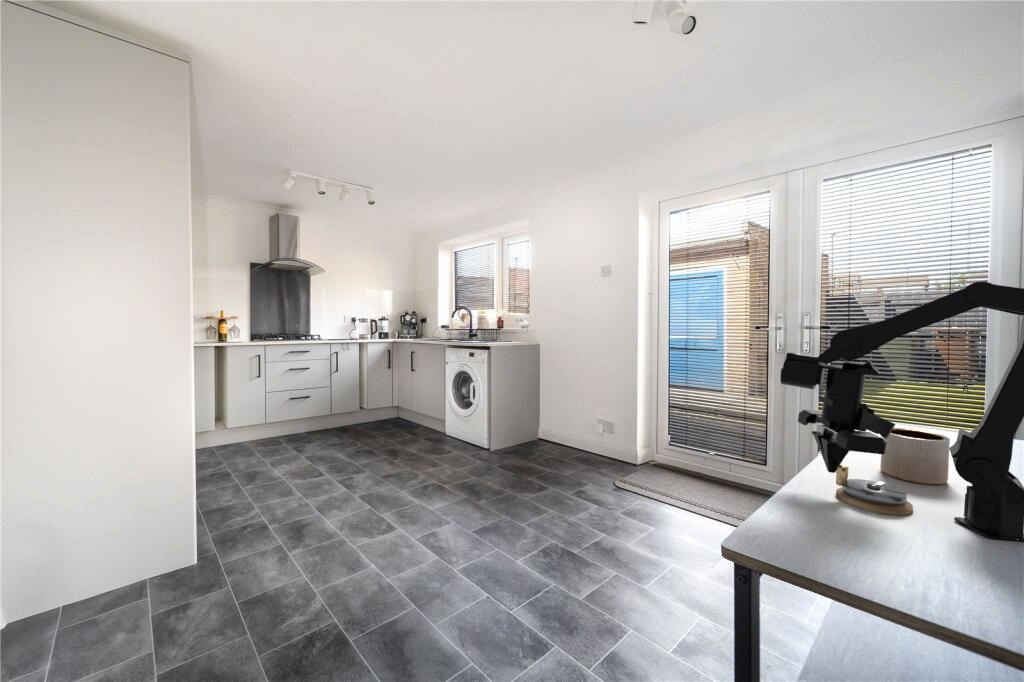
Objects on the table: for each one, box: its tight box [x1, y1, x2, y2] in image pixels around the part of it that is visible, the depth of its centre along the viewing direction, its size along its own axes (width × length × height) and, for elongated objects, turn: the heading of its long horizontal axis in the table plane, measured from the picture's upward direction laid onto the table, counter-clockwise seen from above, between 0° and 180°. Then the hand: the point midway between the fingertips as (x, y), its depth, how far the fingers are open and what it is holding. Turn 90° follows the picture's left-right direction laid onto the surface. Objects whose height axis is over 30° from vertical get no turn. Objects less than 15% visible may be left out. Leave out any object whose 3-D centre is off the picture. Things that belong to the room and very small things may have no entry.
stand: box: [835, 486, 914, 517], centre depth 81 cm, size 11×11×2 cm
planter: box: [880, 427, 951, 486], centre depth 94 cm, size 11×11×10 cm
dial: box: [835, 464, 908, 506], centre depth 81 cm, size 9×9×5 cm
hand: (831, 472), depth 84 cm, fingers closed
